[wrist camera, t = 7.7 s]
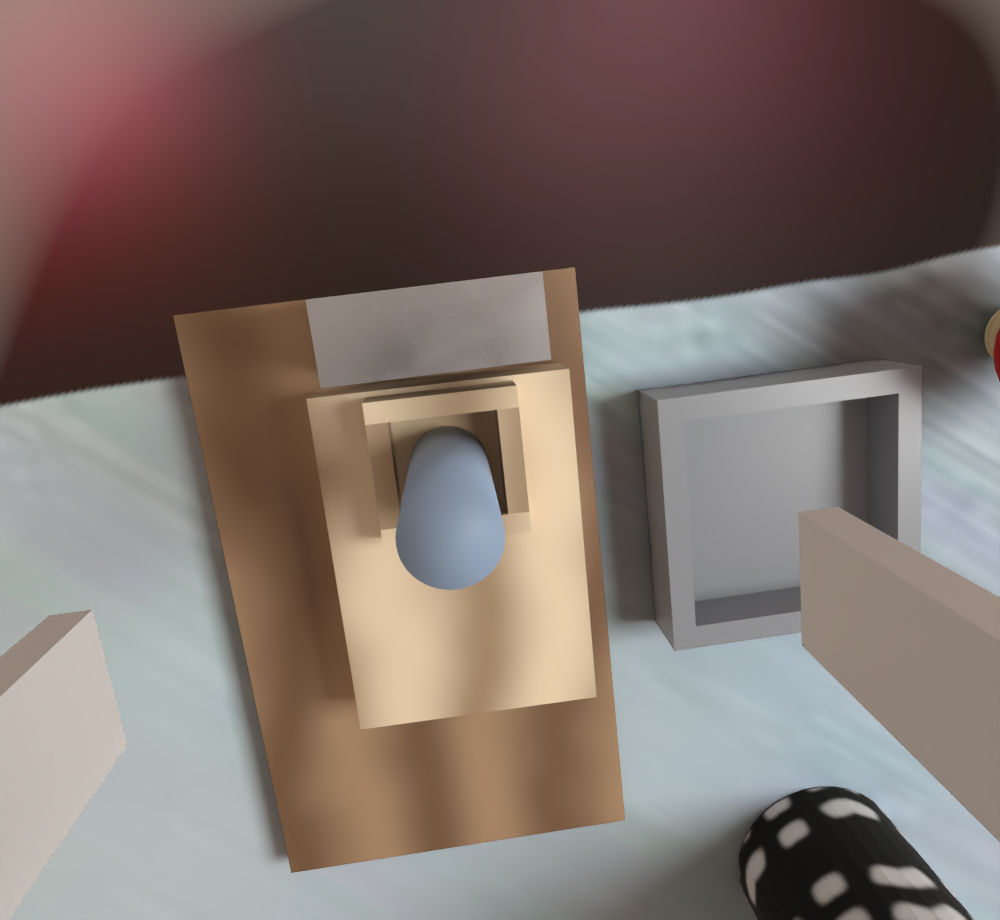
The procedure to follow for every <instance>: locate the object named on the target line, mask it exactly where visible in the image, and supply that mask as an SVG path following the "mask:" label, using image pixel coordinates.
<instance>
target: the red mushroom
mask: <svg viewBox="0 0 1000 920" xmlns="http://www.w3.org/2000/svg"><path fill="white" fill-rule="evenodd" d="M985 346H986V349H987V351H988V353H989V354H990V355H991V357H992V358H994V365H995V370H996V373H997V375H998V378H999V381H1000V309H999V310H998V311H997V312H996V313H995V314H994V315H993V316H992V318H991V319H990V321H989V322H988V325H987V327H986V331H985Z"/></svg>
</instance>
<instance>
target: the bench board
mask: <svg viewBox="0 0 1000 920" xmlns="http://www.w3.org/2000/svg"><path fill="white" fill-rule="evenodd" d="M540 272H541V271H540ZM542 272H543V282H544V292H545V302H546V312H547V322H548V332H549V341H550V351H551V360H544V361H536V362H528V363H520V364H512V365H504V366H496V367H488V368H480V369H472V370H465V371H457V372H449V373H441V374H433V375H425V376H417V377H409V378H401V379H393V380H385V381H377V382H369V383H361V384H353V385H345V386H354V385H363V384H372V383H380V382H389V381H398V380H407V379H416V378H424V377H433V376H442V375H451V374H460V373H468V372H477V371H486V370H495V369H504V368H512V367H521V366H530V365H539V364H547V363H556V362H560V363H561V364H563V365H564V366H566V367H567V368H569V371H570V383H571V395H572V407H573V419H574V431H575V443H576V455H577V467H578V479H579V491H580V503H581V515H582V527H583V539H584V551H585V563H586V575H587V587H588V599H589V612H590V624H591V636H592V648H593V660H594V672H595V684H596V696H597V697H593V698H586V699H578V700H571V701H564V702H557V703H550V704H542V705H535V706H528V707H521V708H513V709H506V710H499V711H492V712H484V713H477V714H470V715H463V716H456V717H448V718H441V719H434V720H427V721H419V722H412V723H405V724H398V725H390V726H383V727H376V728H369V729H360V723H359V717H358V711H357V705H356V699H355V693H354V686H353V680H352V674H351V668H350V662H349V656H348V650H347V644H346V638H345V632H344V626H343V619H342V613H341V607H340V601H339V595H338V589H337V583H336V577H335V571H334V565H333V559H332V553H331V546H330V540H329V534H328V528H327V522H326V516H325V510H324V504H323V498H322V492H321V486H320V479H319V473H318V467H317V461H316V455H315V449H314V443H313V437H312V431H311V425H310V419H309V413H308V406H307V400H306V399H307V398H308V397H309V396H310V395H311V394H312V393H313V392H314V391H316V390H319V389H328V388H320V382H319V376H318V370H317V364H316V359H315V353H314V347H313V341H312V335H311V329H310V324H309V318H308V312H307V306H306V300H307V299H306V300H299V301H290V302H281V303H273V304H264V305H256V306H247V307H239V308H231V309H223V310H214V311H206V312H197V313H189V314H182V315H174V316H173V317H174V322H175V327H176V331H177V336H178V341H179V345H180V350H181V355H182V359H183V364H184V369H185V374H186V378H187V383H188V388H189V393H190V397H191V402H192V407H193V411H194V416H195V421H196V426H197V430H198V435H199V440H200V444H201V449H202V454H203V459H204V463H205V468H206V473H207V477H208V482H209V487H210V491H211V496H212V501H213V506H214V510H215V515H216V520H217V524H218V529H219V534H220V539H221V543H222V548H223V553H224V557H225V562H226V567H227V572H228V576H229V581H230V586H231V590H232V595H233V600H234V605H235V609H236V614H237V619H238V623H239V628H240V633H241V637H242V642H243V647H244V652H245V656H246V661H247V666H248V670H249V675H250V680H251V685H252V689H253V694H254V699H255V703H256V708H257V713H258V718H259V722H260V727H261V732H262V736H263V741H264V746H265V751H266V755H267V760H268V765H269V769H270V774H271V779H272V783H273V788H274V793H275V798H276V802H277V807H278V812H279V816H280V821H281V826H282V831H283V835H284V840H285V845H286V849H287V854H288V859H289V864H290V868H291V873H293V872H300V871H306V870H312V869H319V868H325V867H331V866H338V865H344V864H350V863H357V862H363V861H369V860H375V859H382V858H388V857H394V856H401V855H407V854H413V853H420V852H426V851H432V850H439V849H445V848H451V847H458V846H464V845H470V844H477V843H483V842H489V841H496V840H502V839H508V838H515V837H521V836H527V835H534V834H540V833H546V832H553V831H559V830H565V829H571V828H578V827H584V826H590V825H597V824H603V823H609V822H616V821H622V820H625V815H624V804H623V793H622V782H621V771H620V760H619V749H618V738H617V727H616V716H615V705H614V694H613V683H612V672H611V661H610V650H609V639H608V628H607V617H606V606H605V595H604V584H603V573H602V562H601V551H600V540H599V529H598V518H597V507H596V496H595V485H594V474H593V463H592V452H591V441H590V429H589V418H588V407H587V396H586V385H585V374H584V363H583V352H582V341H581V330H580V319H579V308H578V299H577V298H578V297H577V286H576V275H575V268H574V267H573V268H565V269H558V270H548V271H542ZM506 276H507V275H506ZM481 279H482V278H481ZM339 296H340V295H339ZM314 299H315V298H314ZM345 386H337V387H345ZM329 388H336V387H329Z"/></svg>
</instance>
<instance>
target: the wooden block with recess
mask: <svg viewBox="0 0 1000 920" xmlns="http://www.w3.org/2000/svg"><path fill="white" fill-rule="evenodd" d="M306 400H307V406H308V413H309V419H310V425H311V431H312V437H313V443H314V449H315V455H316V461H317V467H318V473H319V479H320V486H321V492H322V498H323V504H324V510H325V516H326V522H327V528H328V534H329V540H330V546H331V553H332V559H333V565H334V571H335V577H336V583H337V589H338V595H339V601H340V607H341V613H342V619H343V626H344V632H345V638H346V644H347V650H348V656H349V662H350V668H351V674H352V680H353V686H354V693H355V699H356V705H357V711H358V717H359V723H360V729H369V728H376V727H383V726H390V725H398V724H405V723H412V722H419V721H427V720H434V719H441V718H448V717H456V716H463V715H470V714H477V713H484V712H492V711H499V710H506V709H513V708H521V707H528V706H535V705H542V704H550V703H557V702H564V701H571V700H578V699H586V698H593V697H597V696H596V684H595V672H594V660H593V648H592V636H591V624H590V612H589V599H588V587H587V575H586V563H585V551H584V539H583V527H582V515H581V503H580V491H579V479H578V467H577V455H576V443H575V431H574V419H573V407H572V395H571V383H570V371H569V368H567V367H566V366H564V365H563V364H561V363H560V362H556V363H547V364H539V365H530V366H521V367H512V368H504V369H495V370H486V371H477V372H468V373H460V374H451V375H442V376H433V377H424V378H416V379H407V380H398V381H389V382H380V383H372V384H363V385H354V386H345V387H336V388H328V389H319V390H316V391H314V392H313V393H312V394H311V395H310V396H309V397H308V398H307V399H306ZM442 426H456V427H460V428H463V429H465V430H467V431H469V432H471V433H472V434H473V435H475V436H476V437H477V438H478V439H479V441H480V442H481V443H482V445H483V447H484V449H485V452H486V455H487V459H488V463H489V467H490V471H491V475H492V479H493V483H494V487H495V491H496V496H497V500H498V504H499V508H500V512H501V516H502V520H503V524H504V529H505V546H504V550H503V553H502V556H501V558H500V560H499V562H498V564H497V565H496V567H495V568H494V570H493V571H492V572H491V573H490V574H489V575H488V576H487V577H485V578H484V579H483V580H481V581H480V582H478V583H476V584H474V585H472V586H469V587H466V588H462V589H456V590H443V589H437V588H434V587H431V586H428V585H426V584H424V583H422V582H420V581H419V580H417V579H416V578H415V577H413V576H412V575H411V574H410V573H409V572H408V571H407V569H406V568H405V567H404V565H403V564H402V562H401V560H400V558H399V555H398V552H397V548H396V540H395V538H396V529H397V523H398V518H399V513H400V508H401V503H402V498H403V493H404V488H405V483H406V478H407V473H408V468H409V463H410V458H411V453H412V450H413V448H414V446H415V444H416V443H417V441H418V440H419V439H420V438H421V437H422V436H423V435H424V434H425V433H427V432H429V431H430V430H432V429H435V428H438V427H442Z"/></svg>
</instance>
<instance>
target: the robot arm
mask: <svg viewBox="0 0 1000 920" xmlns="http://www.w3.org/2000/svg"><path fill="white" fill-rule="evenodd" d="M798 514H799V552H800V589H801V627H802V646H803V647H804V648H805V649H806V650H807V651H808V652H809V653H810V654H811V655H812V656H813V657H814V658H815V659H816V660H817V661H818V662H819V663H820V664H821V665H822V666H823V667H824V668H825V669H826V670H827V671H828V672H829V673H830V674H831V675H832V676H833V677H834V678H835V679H836V680H837V681H838V682H839V683H840V684H841V685H842V686H843V687H844V688H845V689H846V690H847V691H848V692H849V693H850V694H851V695H852V696H853V697H854V698H855V699H856V700H857V701H858V702H859V703H860V704H861V705H862V706H863V707H864V708H865V709H866V710H867V711H868V712H869V713H870V714H871V715H872V716H873V717H874V718H875V719H876V720H877V721H878V722H879V723H880V724H881V725H882V726H883V727H884V728H885V729H886V730H887V731H888V732H889V733H890V734H892V735H893V736H894V737H895V738H896V739H897V740H898V741H899V742H900V743H901V744H902V745H903V746H904V747H905V748H906V749H907V750H908V751H909V752H910V753H911V754H912V755H913V756H914V757H915V758H916V759H917V760H918V761H919V762H920V763H921V764H922V765H923V766H924V767H925V768H926V769H927V770H928V771H929V772H930V773H931V774H932V775H933V776H934V777H935V778H936V779H937V780H938V781H939V782H940V783H941V784H942V785H943V786H944V787H945V788H946V789H947V790H948V791H949V792H950V793H951V794H952V795H953V796H954V797H955V798H956V799H957V800H958V801H959V802H960V803H961V804H962V805H963V806H964V807H965V808H966V809H967V810H968V811H969V812H970V813H971V814H972V815H973V816H974V817H975V818H976V819H977V820H978V821H979V822H980V823H981V824H982V825H983V826H984V827H985V828H986V829H987V830H988V831H989V832H990V833H991V834H992V835H993V836H994V837H995V838H996V839H997V840H998V841H999V842H1000V597H998V596H996V595H994V594H992V593H991V592H989V591H987V590H985V589H984V588H982V587H980V586H978V585H976V584H975V583H973V582H971V581H969V580H967V579H966V578H964V577H962V576H960V575H959V574H957V573H955V572H953V571H951V570H950V569H948V568H946V567H944V566H942V565H941V564H939V563H937V562H935V561H934V560H932V559H930V558H928V557H926V556H925V555H923V554H921V553H919V552H918V551H916V550H914V549H912V548H910V547H909V546H907V545H905V544H903V543H901V542H900V541H898V540H896V539H894V538H893V537H891V536H889V535H887V534H885V533H884V532H882V531H880V530H878V529H876V528H875V527H873V526H871V525H869V524H868V523H866V522H864V521H862V520H860V519H859V518H857V517H855V516H853V515H851V514H850V513H848V512H846V511H844V510H843V509H841V508H839V507H833V508H826V509H819V510H811V511H804V512H798ZM126 746H127V742H126V738H125V734H124V730H123V726H122V722H121V718H120V715H119V711H118V707H117V703H116V699H115V695H114V692H113V688H112V684H111V680H110V676H109V672H108V668H107V665H106V661H105V657H104V653H103V649H102V645H101V641H100V638H99V634H98V630H97V626H96V622H95V618H94V615H93V611H92V610H87V611H79V612H72V613H65V614H58V615H50V616H48V617H47V618H46V619H44V620H43V621H42V622H41V623H40V624H39V625H37V626H36V627H35V628H34V629H33V630H32V631H30V632H29V633H28V634H27V635H26V636H25V637H23V638H22V639H21V640H20V641H19V642H18V643H16V644H15V645H14V646H13V647H12V648H11V649H9V650H8V651H7V652H6V653H5V654H4V655H2V656H1V657H0V920H10V918H11V917H12V915H13V914H14V912H15V911H16V909H17V908H18V906H19V905H20V903H21V902H22V900H23V899H24V897H25V896H26V894H27V893H28V891H29V890H30V888H31V887H32V885H33V884H34V882H35V881H36V880H37V878H38V877H39V875H40V874H41V872H42V871H43V869H44V868H45V866H46V865H47V863H48V862H49V860H50V859H51V857H52V856H53V854H54V853H55V851H56V850H57V848H58V847H59V845H60V844H61V842H62V841H63V839H64V838H65V836H66V835H67V833H68V832H69V830H70V829H71V827H72V826H73V824H74V823H75V822H76V820H77V819H78V817H79V816H80V814H81V813H82V811H83V810H84V808H85V807H86V805H87V804H88V802H89V801H90V799H91V798H92V796H93V795H94V793H95V792H96V790H97V789H98V787H99V786H100V784H101V783H102V781H103V780H104V778H105V777H106V775H107V774H108V772H109V771H110V769H111V768H112V766H113V765H114V764H115V762H116V761H117V759H118V758H119V756H120V755H121V753H122V752H123V750H124V749H125V747H126Z"/></svg>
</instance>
